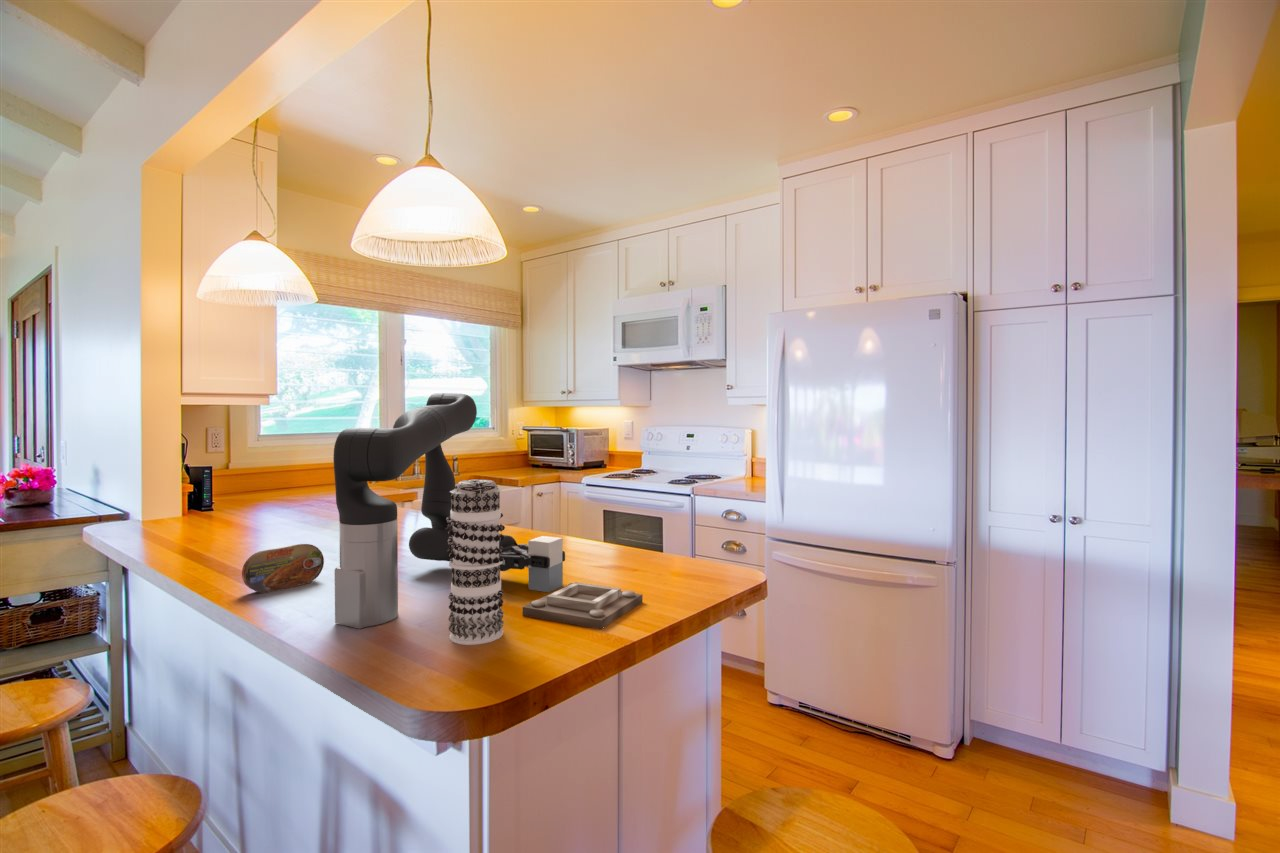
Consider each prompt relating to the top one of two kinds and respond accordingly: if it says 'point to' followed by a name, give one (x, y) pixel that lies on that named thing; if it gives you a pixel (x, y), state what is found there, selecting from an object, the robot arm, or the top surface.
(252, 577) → the tin
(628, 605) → the socket plate
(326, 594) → the top surface
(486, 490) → the decorative candle
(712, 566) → the top surface
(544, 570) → the post
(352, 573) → the robot arm
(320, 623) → the top surface
